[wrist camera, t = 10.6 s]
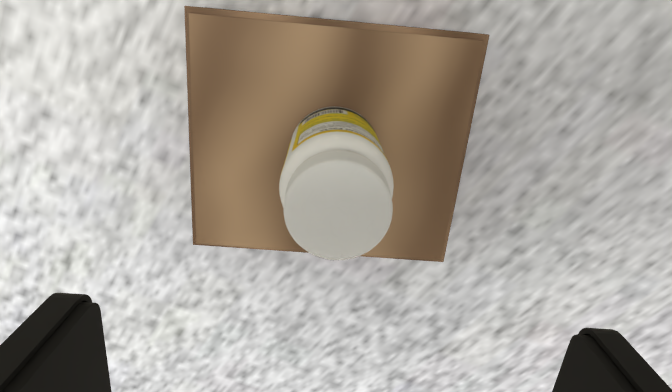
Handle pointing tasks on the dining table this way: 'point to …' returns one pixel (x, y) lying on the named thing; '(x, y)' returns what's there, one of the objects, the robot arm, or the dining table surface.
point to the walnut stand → (315, 93)
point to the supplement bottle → (336, 185)
